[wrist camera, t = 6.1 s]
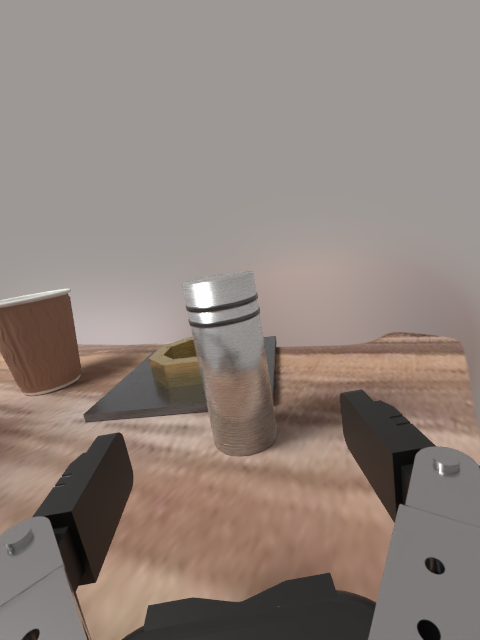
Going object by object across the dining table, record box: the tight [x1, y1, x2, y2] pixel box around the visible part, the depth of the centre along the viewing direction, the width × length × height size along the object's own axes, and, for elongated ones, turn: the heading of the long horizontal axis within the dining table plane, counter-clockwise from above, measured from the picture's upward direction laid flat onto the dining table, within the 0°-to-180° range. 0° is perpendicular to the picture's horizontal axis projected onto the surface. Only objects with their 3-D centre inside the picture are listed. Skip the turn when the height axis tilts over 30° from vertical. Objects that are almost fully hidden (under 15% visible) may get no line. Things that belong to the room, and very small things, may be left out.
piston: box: [182, 271, 278, 456], centre depth 23 cm, size 5×5×12 cm
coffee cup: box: [0, 289, 81, 396], centre depth 42 cm, size 10×10×12 cm
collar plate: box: [84, 336, 276, 422], centre depth 37 cm, size 18×18×3 cm
